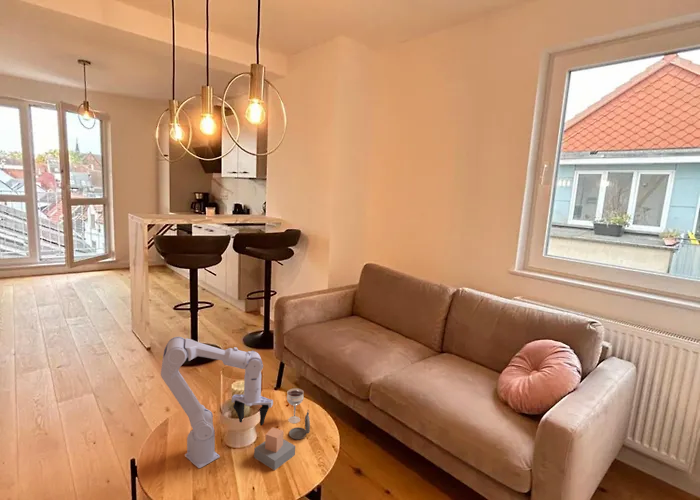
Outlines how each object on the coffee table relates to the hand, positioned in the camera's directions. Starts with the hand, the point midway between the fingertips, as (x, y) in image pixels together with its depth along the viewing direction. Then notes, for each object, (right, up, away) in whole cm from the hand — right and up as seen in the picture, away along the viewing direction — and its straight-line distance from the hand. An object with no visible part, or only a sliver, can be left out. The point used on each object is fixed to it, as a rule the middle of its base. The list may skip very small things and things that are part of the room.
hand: (251, 422), depth 140 cm
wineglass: (+12, -8, +21) cm, 25 cm away
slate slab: (+8, -12, -1) cm, 14 cm away
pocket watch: (+16, -10, +11) cm, 22 cm away
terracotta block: (+8, -8, -2) cm, 12 cm away
